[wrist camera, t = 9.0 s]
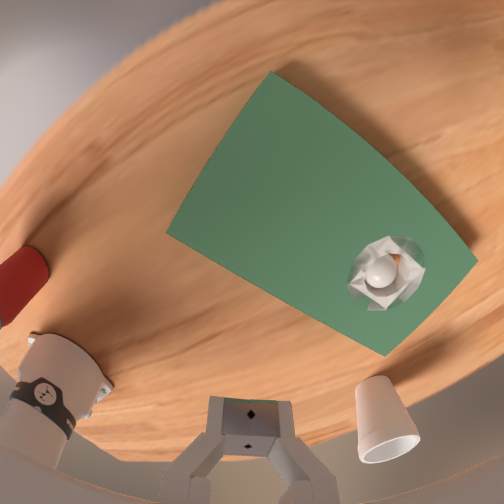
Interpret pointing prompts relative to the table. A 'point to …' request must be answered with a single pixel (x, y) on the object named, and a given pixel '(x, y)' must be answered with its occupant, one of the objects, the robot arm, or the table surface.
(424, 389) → the table surface
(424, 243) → the green rectangular slab
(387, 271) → the ball
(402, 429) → the foam cup
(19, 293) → the beer can
